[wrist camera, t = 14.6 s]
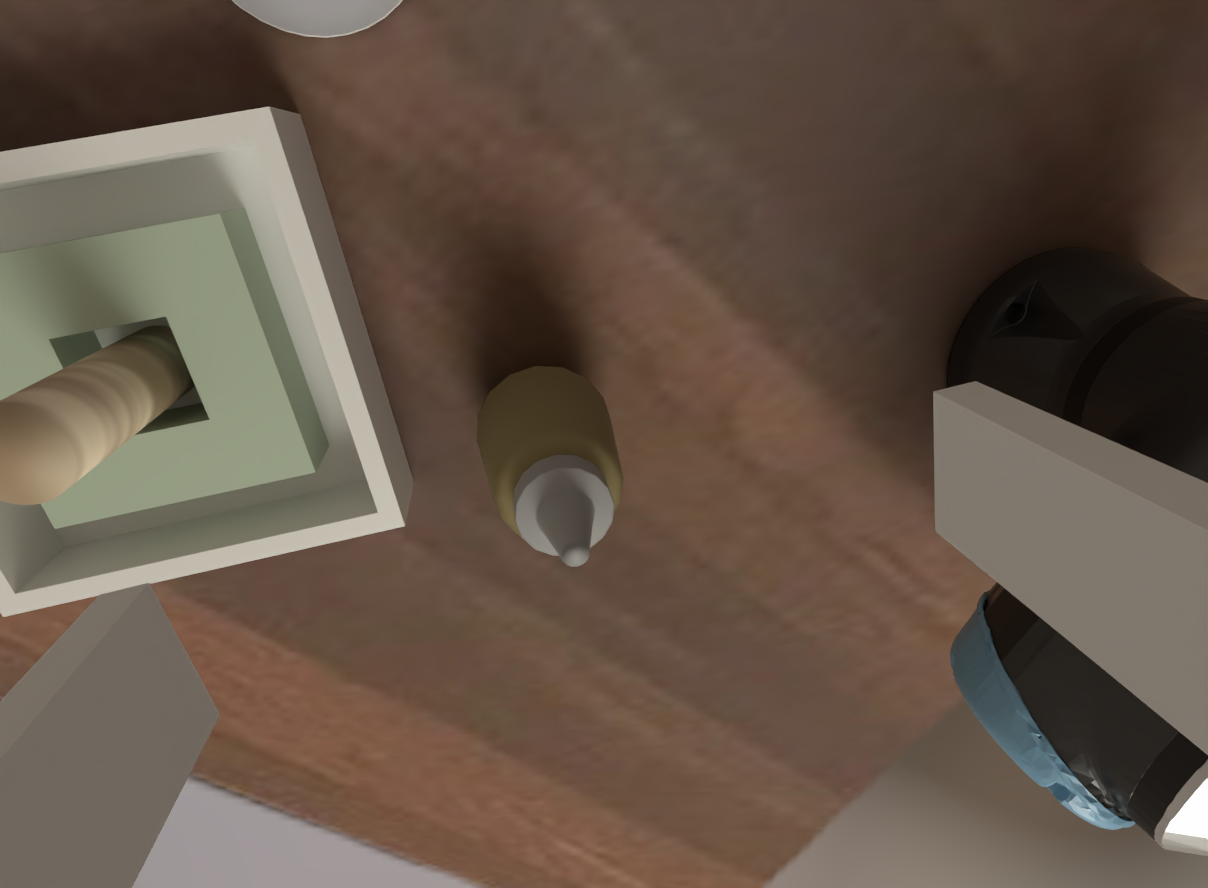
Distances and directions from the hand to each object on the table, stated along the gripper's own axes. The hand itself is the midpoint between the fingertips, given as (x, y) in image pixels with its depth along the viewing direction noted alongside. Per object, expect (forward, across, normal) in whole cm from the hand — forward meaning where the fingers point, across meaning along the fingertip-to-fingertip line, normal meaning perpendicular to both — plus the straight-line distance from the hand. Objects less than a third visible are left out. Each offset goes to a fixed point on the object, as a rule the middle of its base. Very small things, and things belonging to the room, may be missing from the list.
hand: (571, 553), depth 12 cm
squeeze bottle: (+33, +1, +8) cm, 34 cm away
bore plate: (+32, +20, 0) cm, 38 cm away
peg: (+31, +20, 0) cm, 37 cm away
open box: (+32, +20, 0) cm, 38 cm away
